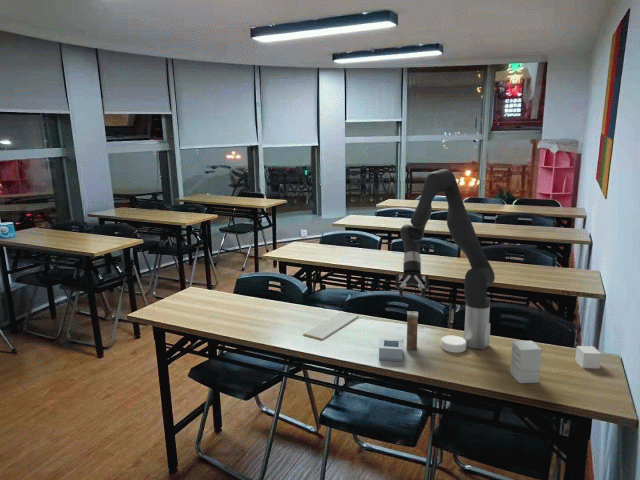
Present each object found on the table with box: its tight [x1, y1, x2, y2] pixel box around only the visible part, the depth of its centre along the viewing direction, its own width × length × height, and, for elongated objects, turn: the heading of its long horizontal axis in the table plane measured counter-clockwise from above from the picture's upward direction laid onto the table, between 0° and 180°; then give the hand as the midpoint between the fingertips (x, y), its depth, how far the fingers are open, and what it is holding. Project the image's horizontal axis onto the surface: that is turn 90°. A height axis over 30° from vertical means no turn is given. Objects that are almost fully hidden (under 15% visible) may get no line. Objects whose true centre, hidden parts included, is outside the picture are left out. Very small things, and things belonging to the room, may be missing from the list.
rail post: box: [406, 310, 419, 351], centre depth 186 cm, size 4×4×15 cm
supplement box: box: [509, 340, 543, 384], centre depth 161 cm, size 7×7×13 cm
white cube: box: [574, 345, 602, 369], centre depth 171 cm, size 6×6×6 cm
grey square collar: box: [378, 337, 404, 362], centre depth 181 cm, size 9×9×5 cm
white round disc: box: [440, 334, 467, 354], centre depth 187 cm, size 10×10×4 cm
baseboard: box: [302, 310, 359, 341], centre depth 212 cm, size 31×3×12 cm
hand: (412, 297), depth 195 cm, fingers open, 8 cm apart
